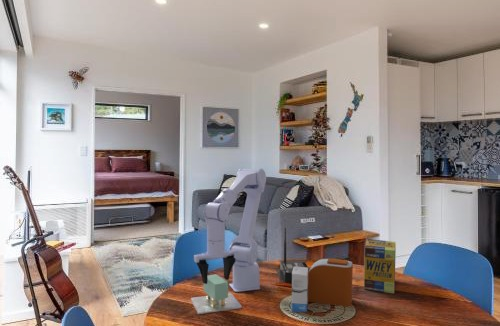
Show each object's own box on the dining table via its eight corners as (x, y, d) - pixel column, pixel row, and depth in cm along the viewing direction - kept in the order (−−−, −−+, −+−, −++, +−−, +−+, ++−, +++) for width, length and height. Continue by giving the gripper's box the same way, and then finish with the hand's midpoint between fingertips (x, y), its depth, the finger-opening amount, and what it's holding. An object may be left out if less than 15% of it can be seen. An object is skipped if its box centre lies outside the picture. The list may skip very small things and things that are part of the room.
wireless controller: (316, 282, 141) (317, 238, 141) (280, 282, 141) (280, 238, 140) (306, 266, 161) (307, 227, 161) (274, 266, 161) (275, 227, 160)
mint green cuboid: (216, 288, 125) (216, 274, 125) (228, 297, 118) (228, 282, 118) (203, 291, 123) (203, 276, 123) (214, 300, 115) (214, 284, 115)
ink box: (307, 313, 114) (307, 275, 114) (291, 311, 115) (291, 273, 115) (308, 302, 122) (308, 266, 122) (293, 300, 123) (293, 265, 123)
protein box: (363, 289, 134) (364, 247, 134) (367, 277, 148) (367, 238, 148) (394, 294, 130) (395, 250, 130) (395, 280, 144) (395, 241, 144)
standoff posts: (218, 296, 125) (218, 289, 125) (225, 305, 117) (225, 298, 117) (206, 298, 123) (206, 291, 123) (212, 307, 116) (212, 300, 116)
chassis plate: (230, 294, 128) (230, 292, 128) (241, 308, 117) (241, 306, 117) (190, 299, 124) (190, 297, 124) (198, 314, 112) (198, 312, 112)
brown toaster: (352, 298, 126) (353, 258, 126) (350, 307, 118) (351, 265, 118) (309, 292, 131) (309, 254, 131) (304, 301, 123) (305, 260, 123)
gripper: (230, 234, 127) (230, 273, 127) (190, 239, 120) (190, 280, 120) (240, 238, 121) (239, 279, 121) (198, 244, 114) (198, 287, 114)
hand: (215, 280), depth 120 cm, fingers open, 7 cm apart
